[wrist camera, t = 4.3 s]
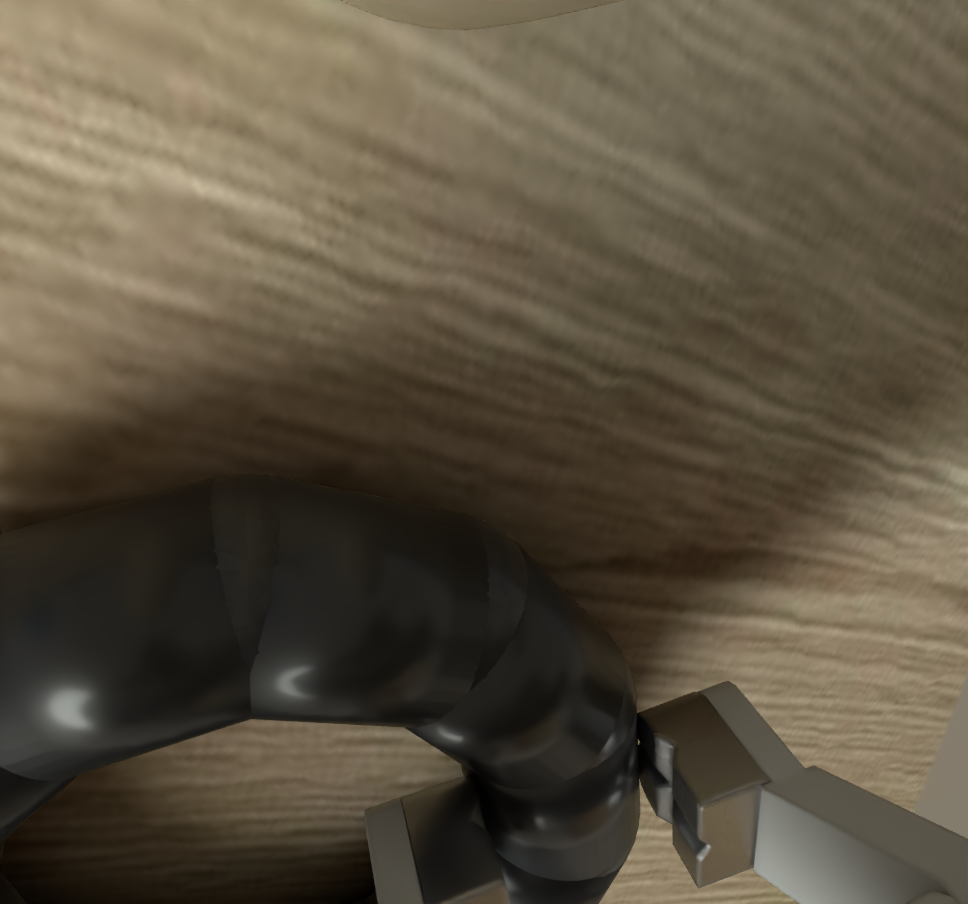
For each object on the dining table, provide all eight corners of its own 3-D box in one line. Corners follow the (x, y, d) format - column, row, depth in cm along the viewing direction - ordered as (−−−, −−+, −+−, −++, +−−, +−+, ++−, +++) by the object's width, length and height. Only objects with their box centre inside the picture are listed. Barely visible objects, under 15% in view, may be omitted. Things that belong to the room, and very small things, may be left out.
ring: (568, 352, 9) (672, 437, 7) (607, 857, 15) (672, 995, 12) (-485, 609, 7) (-822, 853, 5) (25, 1087, 12) (-22, 1304, 10)
